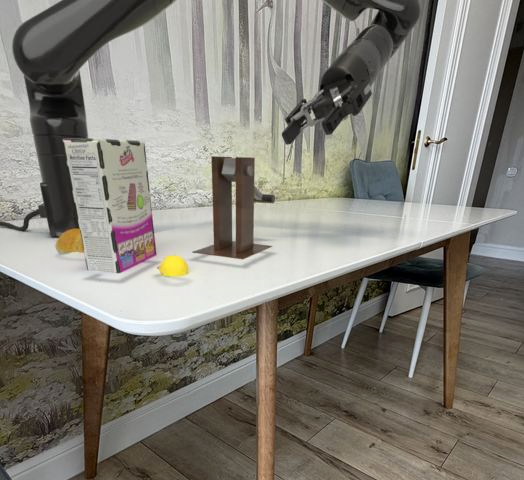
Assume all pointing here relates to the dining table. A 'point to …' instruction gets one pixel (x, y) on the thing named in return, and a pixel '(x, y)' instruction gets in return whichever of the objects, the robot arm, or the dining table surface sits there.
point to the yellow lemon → (173, 266)
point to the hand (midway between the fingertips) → (304, 134)
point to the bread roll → (69, 242)
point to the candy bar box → (111, 202)
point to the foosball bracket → (224, 211)
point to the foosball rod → (230, 174)
